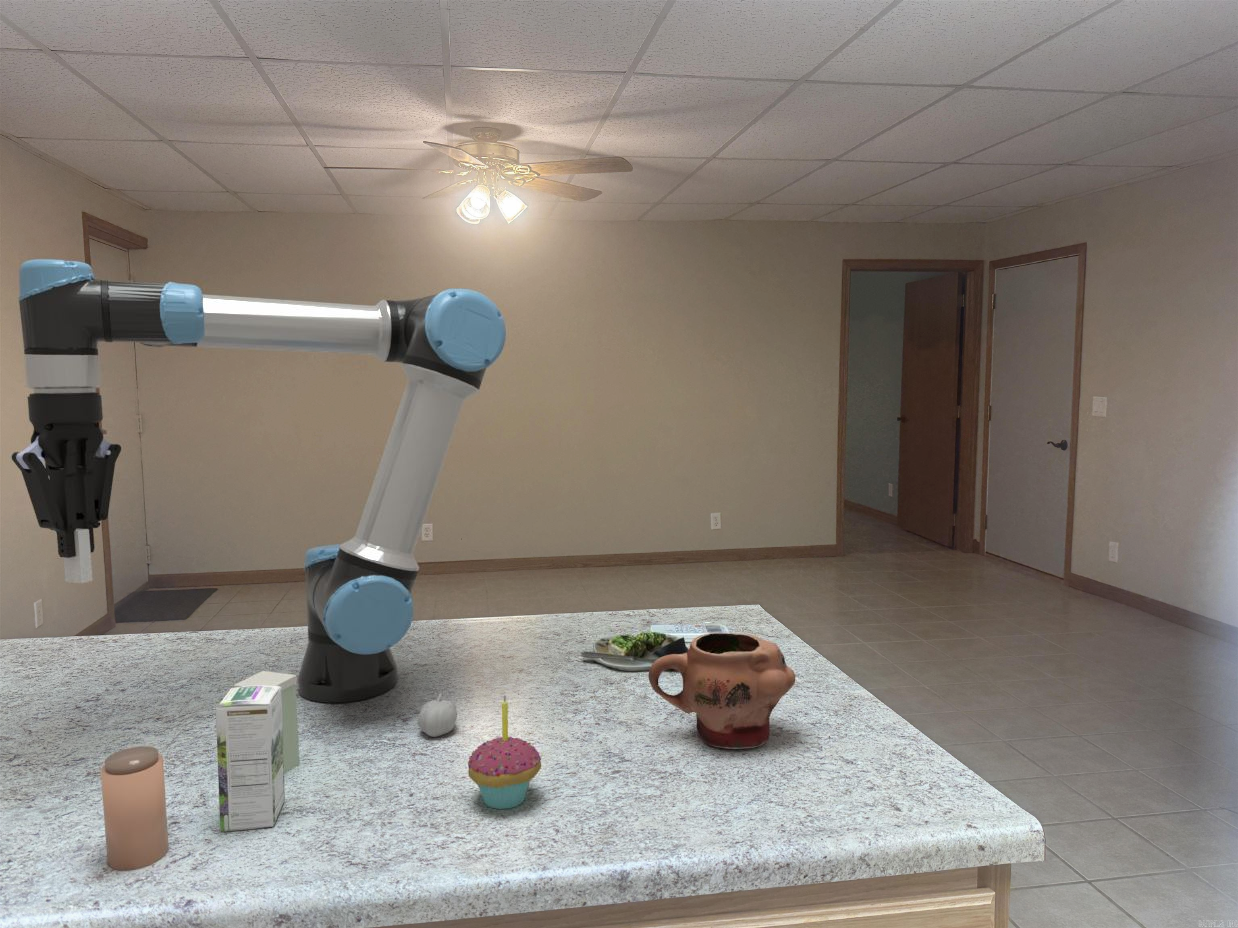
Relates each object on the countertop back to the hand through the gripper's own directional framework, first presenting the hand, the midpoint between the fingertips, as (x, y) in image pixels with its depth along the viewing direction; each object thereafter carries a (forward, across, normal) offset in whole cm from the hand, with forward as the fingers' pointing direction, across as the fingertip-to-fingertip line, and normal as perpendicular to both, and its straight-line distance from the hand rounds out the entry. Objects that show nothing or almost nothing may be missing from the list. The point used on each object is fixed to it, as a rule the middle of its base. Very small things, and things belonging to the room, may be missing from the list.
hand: (79, 580), depth 105 cm
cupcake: (+25, -8, +54) cm, 60 cm away
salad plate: (+25, -62, +56) cm, 87 cm away
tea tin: (+24, -6, +22) cm, 33 cm away
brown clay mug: (+25, -32, +75) cm, 85 cm away
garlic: (+25, -23, +37) cm, 50 cm away
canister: (+24, +13, +22) cm, 35 cm away
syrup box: (+25, +4, +28) cm, 38 cm away
